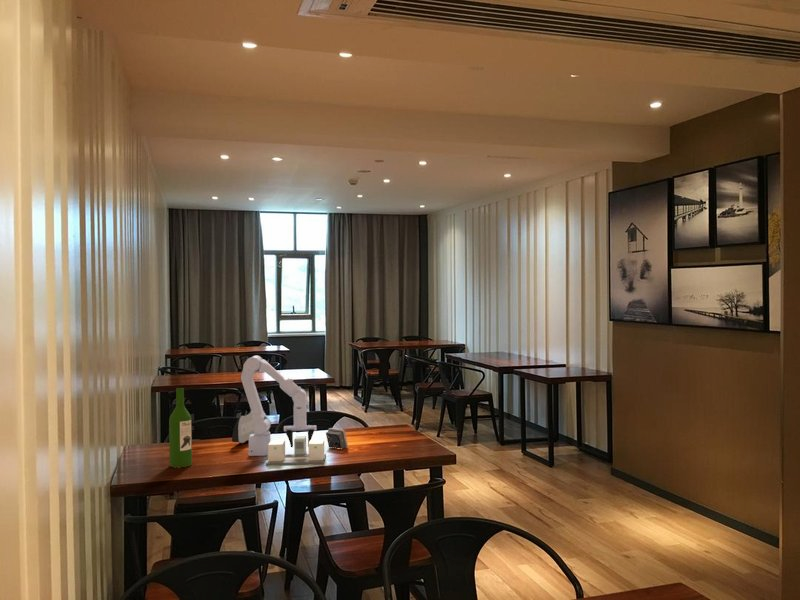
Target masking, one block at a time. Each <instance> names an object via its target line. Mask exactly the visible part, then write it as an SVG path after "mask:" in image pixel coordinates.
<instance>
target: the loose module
mask: <svg viewBox="0 0 800 600" xmlns="http://www.w3.org/2000/svg"><path fill="white" fill-rule="evenodd" d="M293 439H294V440H293V451H294V453H293V454H306V453H307V435H298V436H297V435H296V436H295V438H293Z"/></svg>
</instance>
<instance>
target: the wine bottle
mask: <svg viewBox="0 0 800 600" xmlns="http://www.w3.org/2000/svg"><path fill="white" fill-rule="evenodd" d="M175 390H176V393H175V394H176V395H175V398H176V399H175V400H176V401H175V403H176V405H175V408H174V410H172V413H171V414H170V415H169V419H168V426H169V427H168V436H169V440H168V441H169V444H168V445H169V447H168V448H169V467H170V466H171V467H185V468H187V467H186V466H189V467H191V466H192V465H193V450H192V449H193V445H192V444H193V441H192V440H193V439H192V438H193V437H192V436H193V434H192V432H193V431H192V430H193V429H192V427H193V426H192V425H193V424H192V416H191V414H190V412H189V411H188V409H187V408H186V406H185V392H184V391H185V388H184V387H176V389H175ZM190 465H191V466H190ZM171 467H170V468H171Z"/></svg>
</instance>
